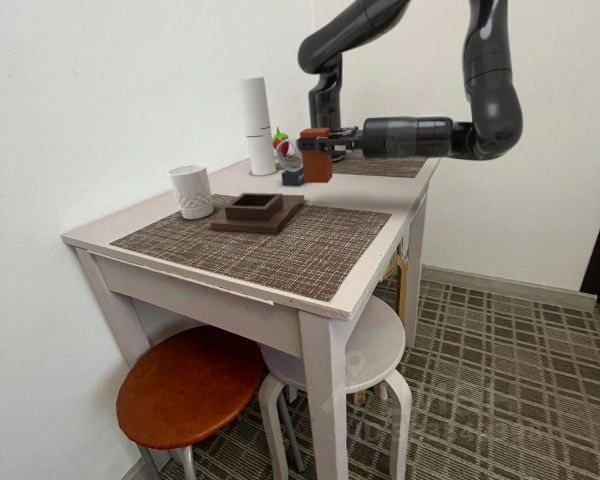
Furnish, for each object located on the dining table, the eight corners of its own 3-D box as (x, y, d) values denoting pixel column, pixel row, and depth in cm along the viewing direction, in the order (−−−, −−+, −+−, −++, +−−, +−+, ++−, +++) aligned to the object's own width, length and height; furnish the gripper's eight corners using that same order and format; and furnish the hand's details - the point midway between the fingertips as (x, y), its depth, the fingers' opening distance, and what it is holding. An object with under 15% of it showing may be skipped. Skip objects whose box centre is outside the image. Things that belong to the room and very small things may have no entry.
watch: (305, 186, 82) (301, 141, 77) (276, 185, 85) (270, 141, 80) (313, 179, 86) (309, 136, 81) (285, 178, 89) (280, 136, 84)
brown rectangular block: (310, 176, 71) (306, 128, 66) (332, 176, 69) (330, 127, 64) (304, 182, 67) (299, 132, 63) (327, 183, 66) (324, 131, 61)
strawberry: (270, 159, 109) (266, 128, 105) (277, 154, 116) (273, 124, 111) (287, 159, 108) (283, 127, 103) (293, 153, 114) (290, 123, 109)
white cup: (178, 211, 75) (165, 168, 70) (212, 203, 77) (202, 161, 72) (181, 224, 68) (168, 177, 63) (219, 214, 71) (208, 169, 66)
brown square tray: (248, 199, 77) (245, 183, 75) (304, 201, 73) (303, 184, 71) (211, 229, 64) (207, 210, 62) (277, 234, 60) (274, 214, 58)
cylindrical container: (280, 170, 96) (268, 76, 85) (259, 176, 93) (244, 79, 81) (268, 166, 102) (256, 77, 90) (248, 172, 98) (232, 80, 87)
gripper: (395, 110, 64) (311, 115, 69) (387, 124, 52) (287, 128, 58) (393, 149, 67) (313, 150, 73) (385, 170, 56) (291, 169, 61)
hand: (302, 140), depth 65 cm, fingers closed on brown rectangular block, 4 cm apart
